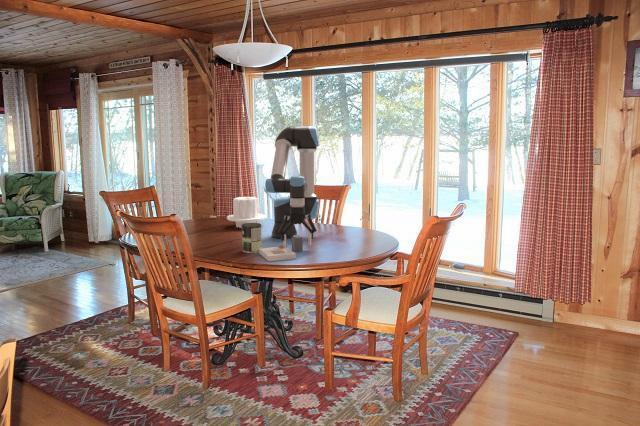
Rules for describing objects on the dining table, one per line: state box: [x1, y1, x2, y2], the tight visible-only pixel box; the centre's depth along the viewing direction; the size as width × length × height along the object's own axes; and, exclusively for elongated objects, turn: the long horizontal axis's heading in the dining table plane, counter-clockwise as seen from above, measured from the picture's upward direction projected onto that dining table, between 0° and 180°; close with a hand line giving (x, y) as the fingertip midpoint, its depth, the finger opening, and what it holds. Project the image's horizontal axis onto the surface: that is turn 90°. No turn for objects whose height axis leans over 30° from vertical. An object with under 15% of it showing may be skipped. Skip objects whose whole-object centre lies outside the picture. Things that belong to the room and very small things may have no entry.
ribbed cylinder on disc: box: [226, 196, 266, 229], centre depth 341 cm, size 25×25×19 cm
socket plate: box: [258, 245, 297, 262], centre depth 262 cm, size 18×14×3 cm
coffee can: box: [241, 222, 263, 254], centre depth 273 cm, size 10×10×14 cm
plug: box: [291, 234, 304, 253], centre depth 273 cm, size 4×4×8 cm
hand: (297, 246), depth 273 cm, fingers open, 13 cm apart
